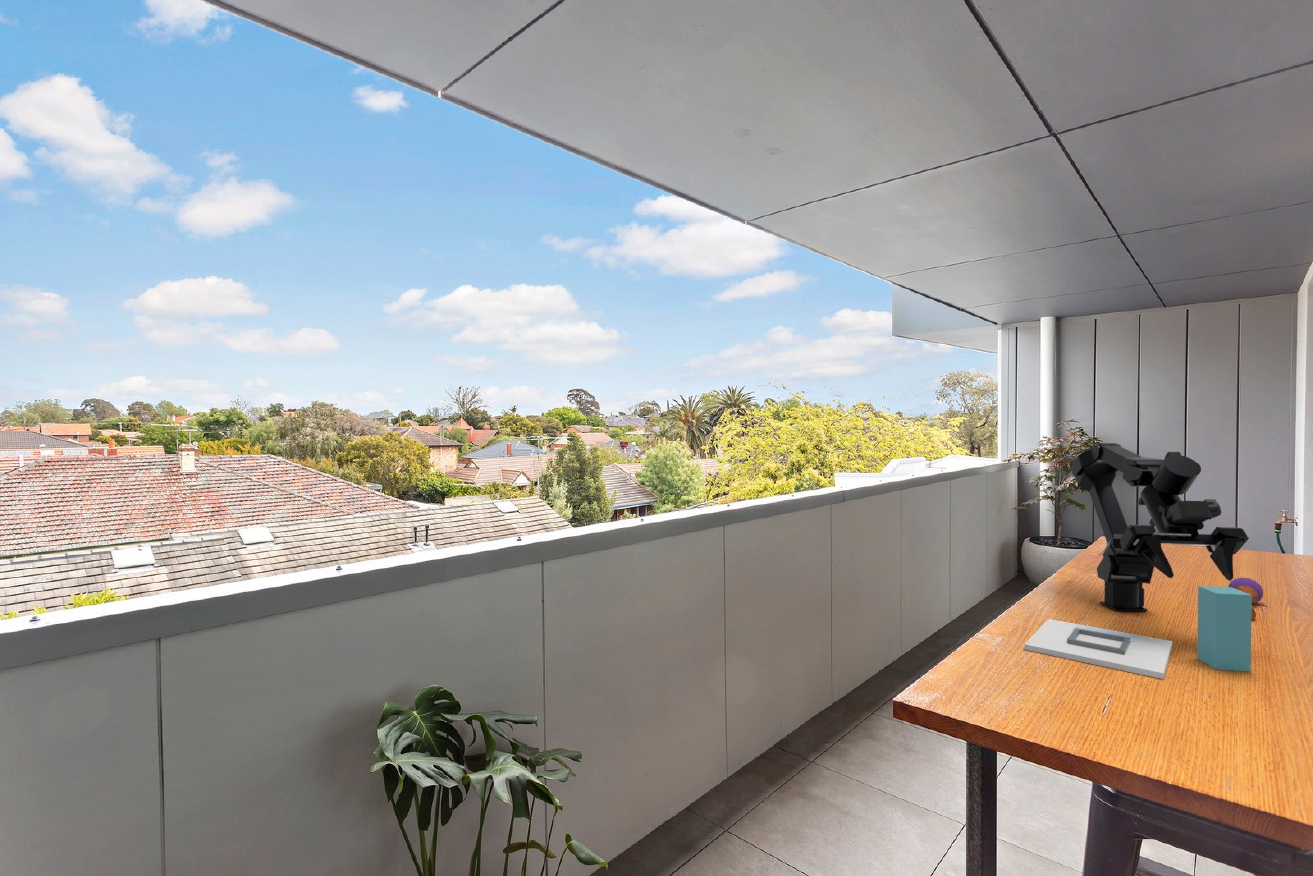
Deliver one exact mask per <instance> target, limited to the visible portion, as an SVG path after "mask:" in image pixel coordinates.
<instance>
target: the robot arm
mask: <svg viewBox="0 0 1313 876" xmlns="http://www.w3.org/2000/svg"><path fill="white" fill-rule="evenodd" d="M1118 472H1120V473H1122V479H1123V480H1124V481H1125V482H1126V483H1127V484H1128V485H1129V486H1130V487H1132V488H1133V487H1137V488H1138V487H1140V488H1141V487H1144V488H1143V489H1142V491H1141V492H1140V494H1139V495H1140V497H1139V498H1138V506H1145V507H1146V509H1147V512H1148V514H1149V516H1150V518H1151V519H1150V520H1149V523H1148V524H1129V526H1128V523H1127V520H1126V518H1125V515H1124V513H1123V510H1122V508H1121V506H1120V502H1119V500H1118V498H1117V495H1116V493H1115V489H1114V487H1113V483H1114V481H1115V478H1116V476H1117V473H1118ZM1201 472H1202V467H1201V464H1200V463H1198V462H1197V461H1195V460H1194V459H1192V458H1190V457H1188V456H1185V455H1182V454H1181V452H1180V451H1167V452H1166V454H1165V457H1164V458H1163V459H1162V458H1154V457H1143V456H1140V455H1138V454H1137V453H1135V452H1133V451H1131V450H1129V449H1127V448H1124V447H1122V445H1121V444H1117V443H1116V442H1105V443H1104V442H1098V443H1097V444H1095V443H1094V444H1093V445H1092V446H1091V448H1090V449H1088V450H1086V451H1084V452H1082V453H1080V454H1078V455H1077V456H1076V458H1075V459H1074V460H1073V462H1072V463H1071V473H1072V476H1074V478H1075V480H1076V482H1077V484H1078V485H1079V486H1080V487H1081V488H1083V489H1084V490H1086V492H1088V494H1089V496H1090V499H1091V501H1092V504H1093V508H1094V509H1095V513H1096V515H1097V518H1098V521H1099V523H1100V527H1101V528H1102V532H1103V534H1104V538H1105V541H1106V545H1105V548H1104V550H1103V552H1102V559H1101V561H1100V562H1099V564H1098V565H1097V566H1096V574H1097V577H1098V578H1099V579H1101V580H1103V581H1104V595H1103V596H1104V597H1103V598H1104V600H1100V601H1099V604H1101V605H1103V606H1105V607H1108V608H1110V609H1112V610H1114V611H1118V612H1148V608H1146V607H1144V606H1145V588H1144V587H1143V585H1144V584H1147V585H1150V584H1151V582H1152V577H1153V574H1154V573H1153V572H1154V568H1155V569H1157V570H1158V571H1159V572H1160V573H1162V574H1163V575H1165V576H1166V577H1167V578H1168V579H1173V577H1174V571H1173V568H1172V566H1171V564H1170V562H1169V560H1168V558H1167V556H1166V555H1165V552H1164V550H1163V547H1162V544H1167V545H1168V544H1171V545H1174V546H1175V545H1176V546H1178V545H1182V546H1202V547H1203V546H1204V547H1205V548H1206V549H1207V551H1208V552H1209V553H1211V554H1210V555H1209V558H1210V559H1211V560H1212V562H1213V564H1215V566H1216V567H1217V568H1218V571H1219V572H1220V573H1221V575H1222V576H1223V577H1224V578H1225V579H1226V581H1229V582H1231V581H1232V580H1234V555H1236V554H1237V553H1238V552H1239V551H1240V550H1241V548H1242V547H1243V546H1244V545H1245V544H1246V543H1247V542H1248V540H1249V539H1250V538H1249V536H1248V534H1247V532H1246V531H1245V530H1244V529H1243V528H1241V527H1235V526H1234V527H1233V526H1232V527H1231V526H1230V527H1229V526H1216V527H1215V528H1214V529H1213V531H1212V532H1211V533H1210V534H1207V533H1205V534H1204V533H1203V534H1200V532H1199V530H1203V528H1204V527H1205V525H1204V522H1206V521H1208V520H1212V519H1215V518H1217V517H1219V516H1221V515H1222V508H1221V506H1220V505H1219V502H1218V501H1217V500H1216V499H1214V498H1213V499H1210V498H1205V499H1204V500H1182V499H1181V497H1180V496H1181V495H1185V494H1186V493H1188V491H1189V489H1190V488H1191V486H1192V485H1193V484H1194V482H1195V481H1196V480H1197V478H1198V477H1199V475H1200V474H1201Z"/></svg>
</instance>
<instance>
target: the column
mask: <svg viewBox="0 0 1313 876" xmlns="http://www.w3.org/2000/svg"><path fill="white" fill-rule="evenodd" d="M1197 588H1198V589H1197V641H1196V642H1197V653H1196V657H1197V658H1196V659H1197V660H1198V661H1200V662H1202V663H1204V664H1206V665H1207V664H1208V665H1207V666H1209V667H1211V668H1212V669H1214V670H1216V669H1218V670H1220V671H1230V670H1234V672H1244V671H1250V672H1249V673H1251V672H1252V668H1251V667H1252V620H1251V617H1252V607H1253V604H1252V595H1250V594H1248V593H1245V592H1242V591H1240V590H1237V589H1234V588H1232V587H1228V586H1211V585H1210V586H1209V585H1198V586H1197ZM1218 670H1217V671H1218Z"/></svg>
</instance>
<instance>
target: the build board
mask: <svg viewBox="0 0 1313 876" xmlns="http://www.w3.org/2000/svg"><path fill="white" fill-rule="evenodd" d="M1024 650H1025V651H1030V652H1034V653H1040V654H1043V655H1048V656H1053V657H1057V658H1063V659H1068V660H1071V661H1076V662H1080V663H1086V664H1091V665H1095V666H1099V667H1103V668H1109V669H1113V670H1118V671H1123V672H1128V673H1133V674H1137V675H1142V676H1147V677H1151V678H1156V679H1161V680H1164V679H1165V675H1166V671H1167V667H1168V664H1169V660H1170V656H1171V654H1172V653H1171V652H1172V650H1173V640H1166V639H1162V638H1155V637H1151V636H1145V635H1139V634H1134V633H1129V632H1122V631H1118V630H1117V631H1116V630H1112V629H1106V628H1102V627H1101V628H1100V627H1094V626H1089V625H1084V624H1079V623H1073V622H1066V621H1062V620H1057V619H1050V618H1047V620H1046V621H1044V623H1043V624H1042V625H1041V626H1040V627H1039V628H1038V629H1037V630H1036V631H1035V632H1034V633H1033V635H1031V637H1030V638H1029V639H1028V640H1027V641H1026V642H1025V643H1024Z"/></svg>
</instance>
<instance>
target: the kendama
mask: <svg viewBox="0 0 1313 876" xmlns="http://www.w3.org/2000/svg"><path fill="white" fill-rule="evenodd" d="M1227 587H1232V588H1234V589H1237V590H1240V591H1242V592H1245V593H1248V594H1250V595H1252V605H1254V604H1257V603H1259V602H1260V601H1261V600H1262V599H1263V597H1264V589H1263V587H1262V585H1261V584H1260V583H1258V582H1257V581H1256V580H1254V579H1251V578H1249V577H1237V578H1233V579H1232V580H1231V581H1229V583H1228V585H1227ZM1256 617H1257V612H1256V610H1255V609H1254V607H1253V606H1252V617H1251V621H1252V620H1255V618H1256Z"/></svg>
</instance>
